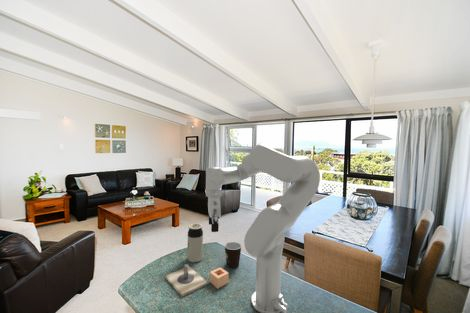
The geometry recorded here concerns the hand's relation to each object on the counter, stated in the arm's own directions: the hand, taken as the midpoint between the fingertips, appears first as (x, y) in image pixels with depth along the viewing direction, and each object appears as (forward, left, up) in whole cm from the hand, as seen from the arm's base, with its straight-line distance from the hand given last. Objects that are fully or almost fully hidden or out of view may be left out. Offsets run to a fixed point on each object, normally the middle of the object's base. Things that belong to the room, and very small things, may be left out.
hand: (213, 227), depth 102 cm
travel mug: (+15, +1, -22) cm, 26 cm away
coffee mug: (-1, -12, -22) cm, 25 cm away
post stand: (+1, +14, -21) cm, 26 cm away
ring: (-9, +3, -21) cm, 23 cm away
